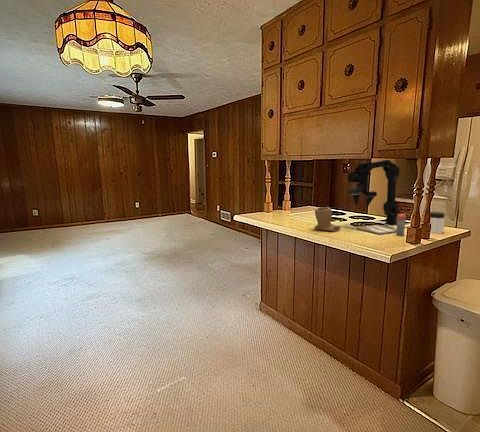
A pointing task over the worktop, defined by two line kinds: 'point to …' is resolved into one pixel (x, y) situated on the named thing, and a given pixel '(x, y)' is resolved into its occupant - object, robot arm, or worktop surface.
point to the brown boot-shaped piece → (325, 219)
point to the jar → (437, 222)
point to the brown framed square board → (378, 229)
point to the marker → (400, 224)
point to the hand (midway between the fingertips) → (361, 206)
